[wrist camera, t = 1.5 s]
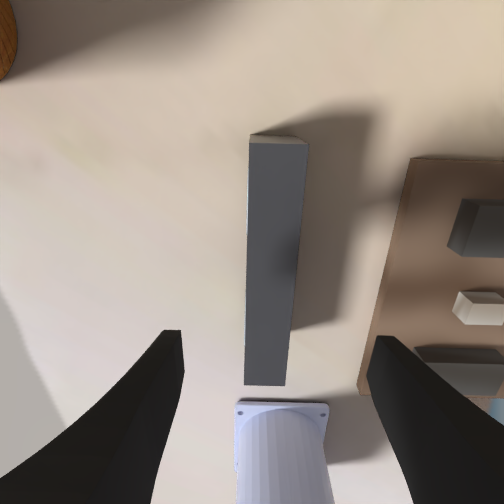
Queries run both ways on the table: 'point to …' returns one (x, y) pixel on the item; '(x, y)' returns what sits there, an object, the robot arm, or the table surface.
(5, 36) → the disposable coffee cup
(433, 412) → the robot arm
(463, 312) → the display stand
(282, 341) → the long gray beam
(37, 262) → the table surface
